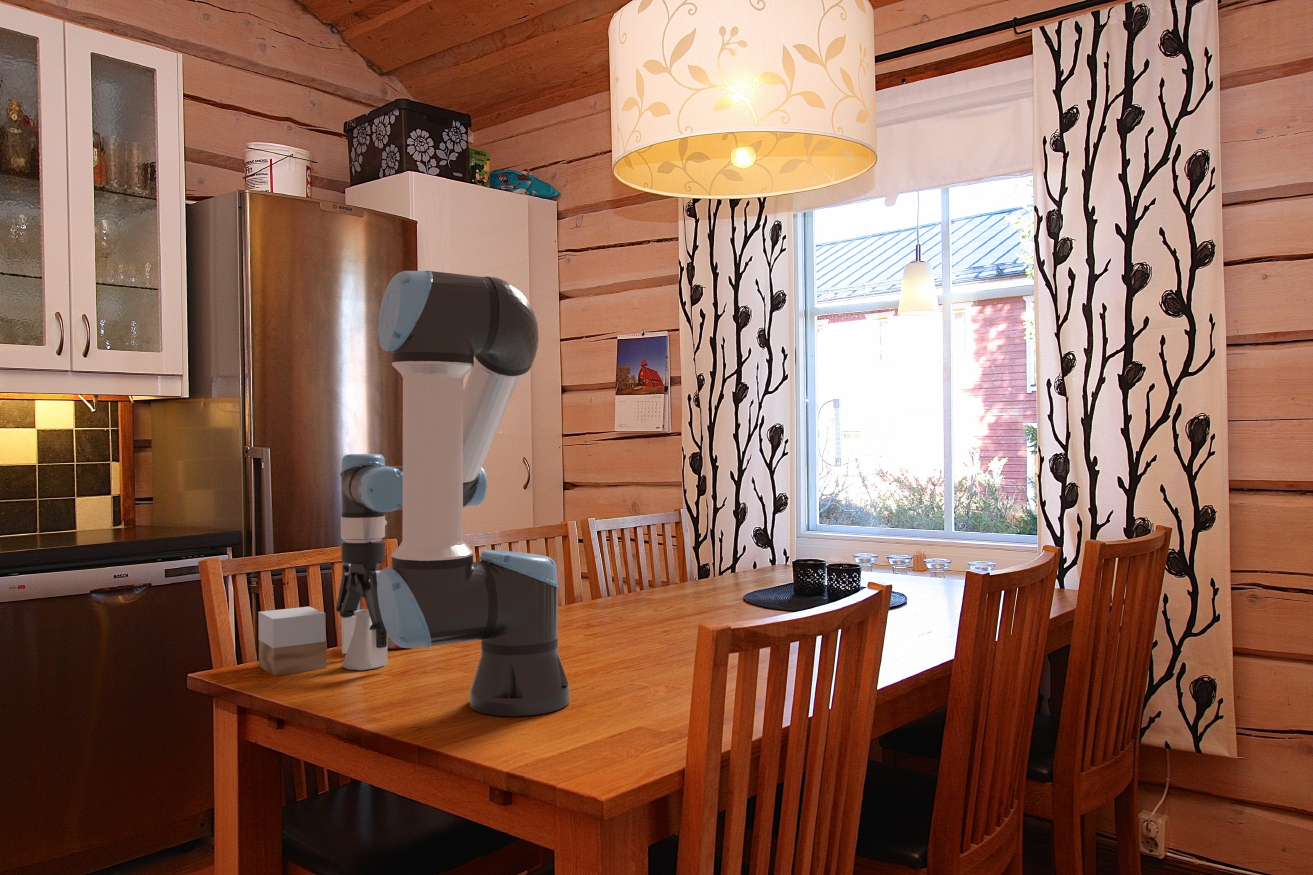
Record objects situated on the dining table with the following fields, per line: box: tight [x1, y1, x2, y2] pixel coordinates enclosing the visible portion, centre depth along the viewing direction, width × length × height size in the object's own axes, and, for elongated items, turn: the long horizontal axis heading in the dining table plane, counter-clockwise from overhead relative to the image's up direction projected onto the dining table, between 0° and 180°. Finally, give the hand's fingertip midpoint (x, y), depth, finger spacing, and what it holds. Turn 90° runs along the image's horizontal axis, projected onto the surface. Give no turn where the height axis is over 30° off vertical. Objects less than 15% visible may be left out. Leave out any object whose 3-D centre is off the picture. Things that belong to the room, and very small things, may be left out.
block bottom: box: [258, 639, 327, 676], centre depth 175 cm, size 9×9×5 cm
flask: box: [341, 608, 382, 671], centre depth 175 cm, size 7×7×10 cm
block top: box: [257, 606, 327, 648], centre depth 175 cm, size 9×9×5 cm
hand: (363, 659), depth 175 cm, fingers open, 13 cm apart
